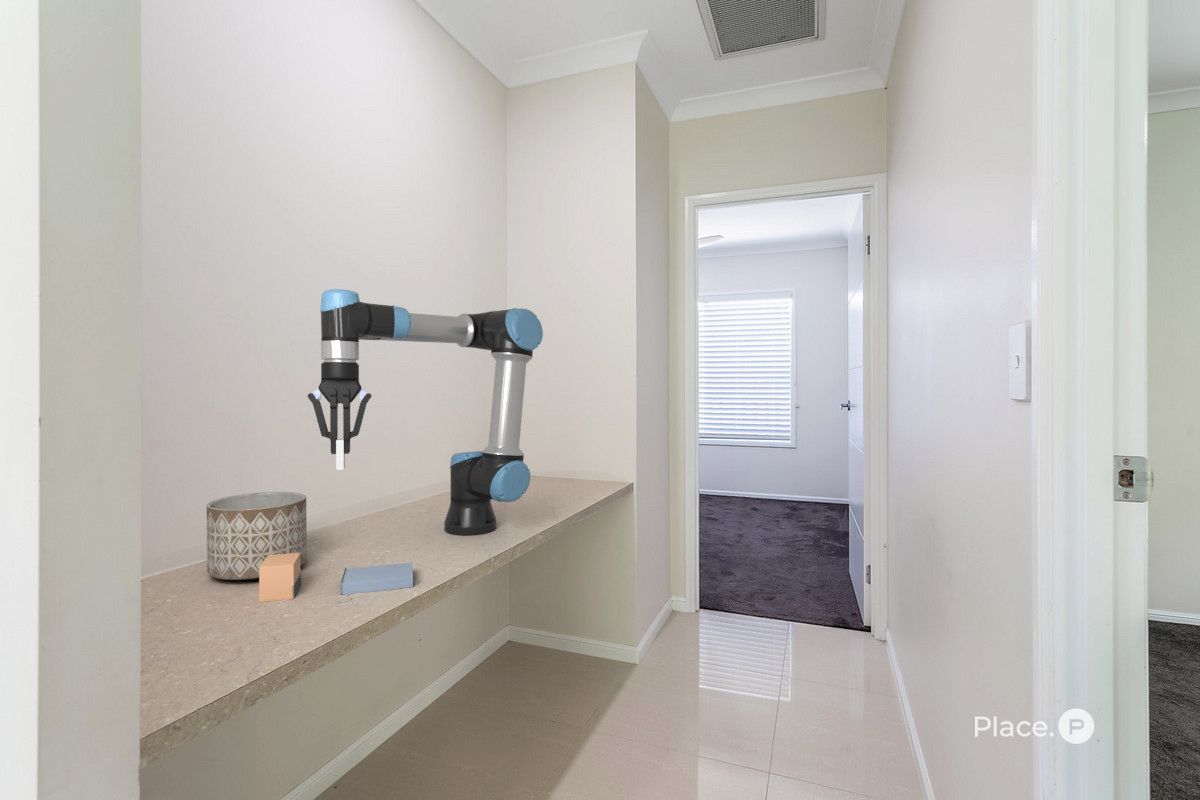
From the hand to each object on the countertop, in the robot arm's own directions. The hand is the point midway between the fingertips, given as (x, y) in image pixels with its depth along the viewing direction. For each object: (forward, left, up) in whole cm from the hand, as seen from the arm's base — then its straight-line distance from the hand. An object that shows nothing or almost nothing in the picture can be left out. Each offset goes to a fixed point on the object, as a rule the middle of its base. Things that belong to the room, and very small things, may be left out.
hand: (340, 468), depth 124 cm
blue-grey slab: (-8, +6, -24) cm, 26 cm away
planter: (+18, -10, -25) cm, 32 cm away
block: (+11, +6, -24) cm, 27 cm away
